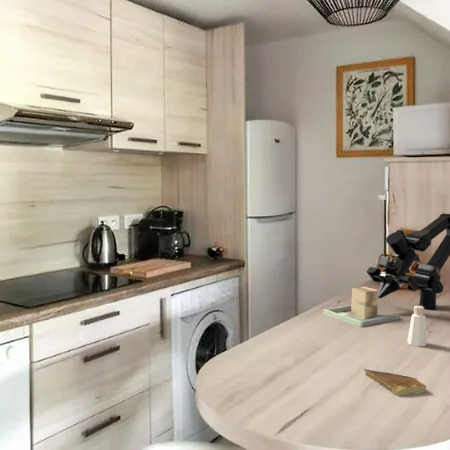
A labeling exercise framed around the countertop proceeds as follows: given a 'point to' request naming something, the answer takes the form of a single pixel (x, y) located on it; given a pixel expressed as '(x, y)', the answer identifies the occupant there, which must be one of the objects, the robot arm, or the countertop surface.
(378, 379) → the shard
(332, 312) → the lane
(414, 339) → the salt shaker
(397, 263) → the robot arm
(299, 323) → the countertop surface
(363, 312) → the block
